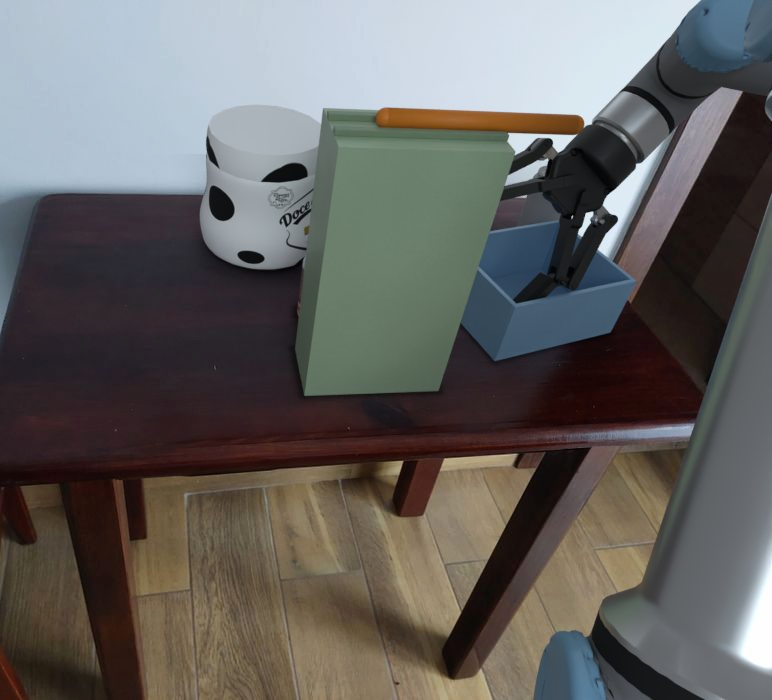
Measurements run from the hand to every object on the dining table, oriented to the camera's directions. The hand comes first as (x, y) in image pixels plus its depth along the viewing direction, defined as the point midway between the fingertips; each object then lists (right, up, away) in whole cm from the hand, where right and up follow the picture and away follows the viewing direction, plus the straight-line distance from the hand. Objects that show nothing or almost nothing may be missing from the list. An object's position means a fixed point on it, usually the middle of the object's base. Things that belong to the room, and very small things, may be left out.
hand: (476, 283), depth 81 cm
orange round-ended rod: (-4, +12, -19) cm, 23 cm away
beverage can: (+15, +9, +26) cm, 31 cm away
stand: (-13, -10, 0) cm, 17 cm away
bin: (+9, -3, +12) cm, 15 cm away
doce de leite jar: (-27, +7, +18) cm, 33 cm away
